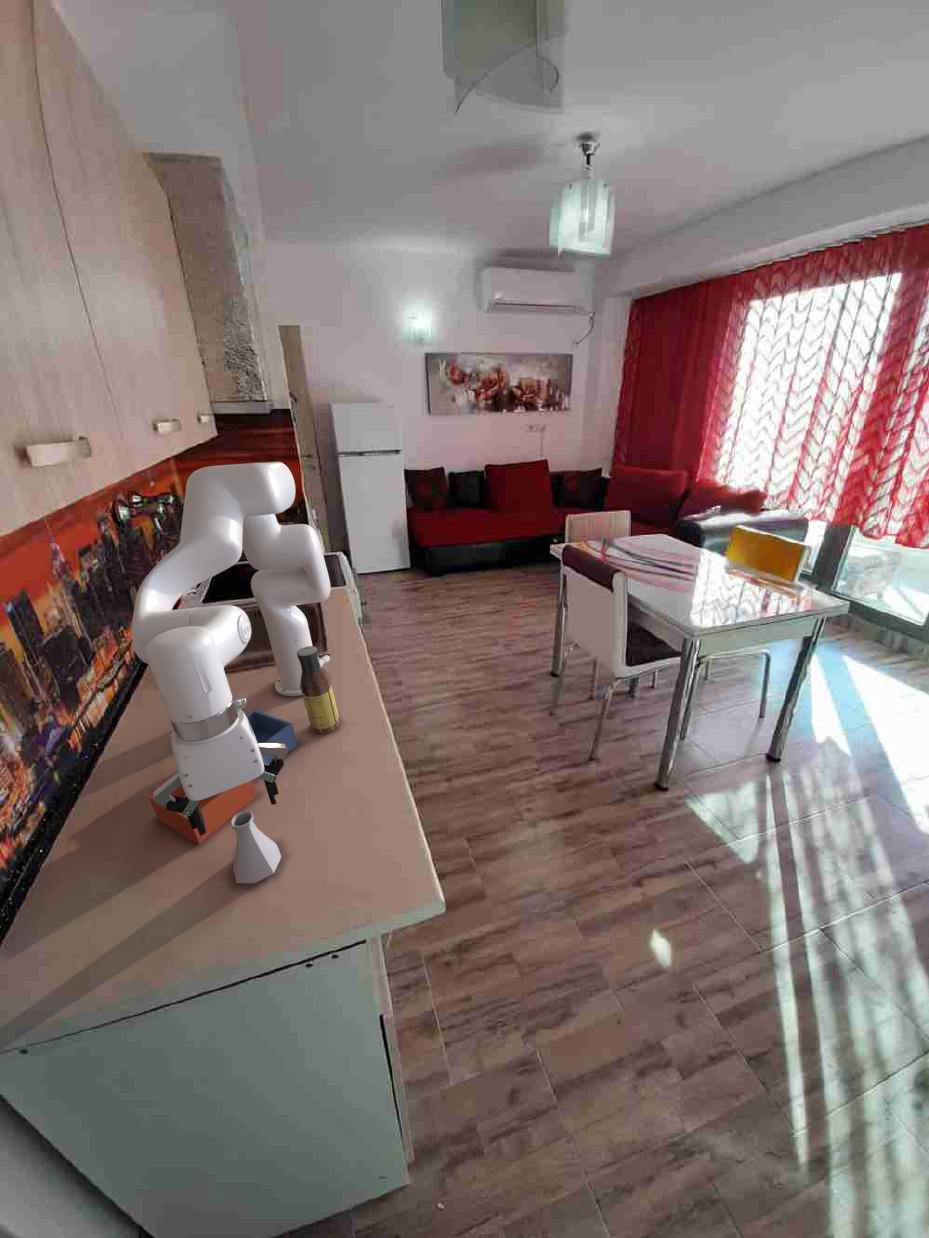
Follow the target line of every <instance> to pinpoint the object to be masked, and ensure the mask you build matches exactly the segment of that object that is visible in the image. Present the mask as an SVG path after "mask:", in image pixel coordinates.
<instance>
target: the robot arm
mask: <svg viewBox="0 0 929 1238" xmlns="http://www.w3.org/2000/svg"><path fill="white" fill-rule="evenodd" d="M295 499H296V483H295V478H294V477H293V474H292V472H291V470H290V469H289V467H288V466H287V465H286V464H284V462H281V461H270V462H269V461H267V462H248V463H247V462H246V463H234V464H223V465H222V464H221V465H210V466H204V467H201V468H199V469H196V470H194V471H193V472H192V473H191V474H190V475H189V477H188V478H187V481H186V486H185V493H184V502H183V503H184V504H183V508H182V509H183V511H182V519H181V527H180V536H179V543H178V544H177V545H176V546H175V547H174V548H172V549H171V550H170V551H169V552H168V553H167V554H166V555H164V556H163V558H161V559H160V560H159V562H158V563H157V564H156V565H154V567H153V568H152V569H151V571H150V572H149V573H148V574H147V575H146V576H145V577H144V578H143V581H142V582H141V584H140V586H139V588H138V590H137V593H136V596H135V603H134V609H133V615H132V623H131V642H132V647H133V650H134V653H135V654H136V656H137V657H138V658H139V659H140V660H141V662H142V663H145V664H147V665H148V666H149V668H150V671H151V673H152V676H153V679H154V681H155V684H156V686H157V689H158V691H159V694H160V697H161V700H162V702H163V705H164V707H165V710H166V713H167V716H168V718H169V720H170V724H171V726H172V728H173V731H172V732H171V733H170V744H171V749H172V753H173V758H174V763H175V767H176V770H177V772H176V773H175V774H173V775H172V776H171V777H170V778H168V779H167V780H166V781H165V782H164V783H163V784H161V785H160V786H159V787H158V788H157V789H156V790H154V791H153V801H154V802H156V803H158V804H160V805H161V806H164V807H166V808H167V810H169V811H173V812H178V813H183V816H185V817H188V819H189V822H190V824H191V827H192V829H195V828H198V831H199V833H200V836H201V835H204V834H205V833H206V828H205V821H204V817H203V815H202V812H201V810H200V807H199V805H198V803H199V801H200V800H202V799H205V798H208V797H211V796H213V795H216V794H219V793H221V792H224V791H226V790H229V789H231V788H234V787H236V786H239V785H241V784H244V783H246V782H249V781H251V780H253V779H254V780H256V779H260V780H262V781H263V782H264V786H265V789H266V793H267V795H268V799H269V802H270V805H273V806H274V805H276V804H277V800H276V797H275V796H277V795H279V789H278V785H277V782H276V781H277V778H278V777H277V776H278V775H279V773H280V772H281V770H282V769H283V768H284V766H285V761H286V758H287V756H288V753H289V752H288V749H287V746H286V744H283V743H257V740H256V737H255V735H254V732H253V729H252V727H251V725H250V723H249V721H248V719H247V717H246V715H247V714H245V712H244V711H243V710H242V709H243V708H245V707H248V703H247V699H246V696H243V697H237V698H236V696H233V694H232V691H231V688H230V684H229V681H228V678H227V675H226V672H225V667H226V666H227V665H228V664H230V662H232V661H233V660H234V659H236V658H237V657H238V656H240V654H242V652H243V651H244V650H245V649H246V647H247V646H248V643H249V642H250V640H251V636H252V625H251V621H250V619H249V616H248V614H247V613H246V612H245V611H244V610H243V609H242V608H240V607H239V606H236V605H232V604H216V605H209V606H199V607H197V606H196V607H188V608H187V607H186V608H180V609H179V608H178V609H173V608H174V606H175V605H176V603H177V602H178V601H179V599H181V597H183V595H185V594H186V593H187V592H188V591H190V590H191V589H192V588H194V587H195V586H197V585H199V584H201V583H204V582H205V581H207V580H210V579H211V578H213V577H215V576H216V575H219V574H220V573H223V572H225V571H226V570H228V569H229V568H231V567H233V566H234V565H235V564H237V563H238V561H239V560H240V559H241V557H242V553H243V554H244V555H245V557H246V560H247V561H248V563H249V565H250V566H251V567H252V568H253V569H254V570H258V571H256V572H255V573H254V574H253V575H252V577H251V579H250V587H251V591H252V596H253V598H254V600H255V602H256V603H257V606H258V608H259V610H260V612H261V615H262V618H263V621H264V624H265V628H266V632H267V635H268V640H269V644H270V647H271V652H272V655H273V660H274V663H275V667H276V670H277V674H278V678H277V679H276V681H275V682H274V689H275V691H276V693H277V694H279V695H281V696H285V697H298V696H302V692H301V688H300V683H301V675H302V670H301V664H300V660H299V659H298V656H297V652H298V650H299V649H301V648H304V647H307V646H313V642H312V637H311V632H310V628H309V623H308V620H307V617H306V616H305V613H304V612H302V610H301V609H300V608H299V607H297V606H300V605H309V604H317V603H321V602H324V601H326V600H328V599H329V597H330V594H331V590H332V589H331V588H332V587H331V581H330V576H329V572H328V568H327V564H326V561H325V556H324V551H323V548H322V544H321V541H320V537H319V535H318V533H317V531H316V530H315V528H314V527H312V526H311V525H309V524H307V523H306V524H305V523H296V524H295V523H293V524H285V525H284V524H279V522H278V519H277V517H276V515H278V514H281V513H283V512H285V511H286V510H288V509H289V508H291V507H292V505H293V504H294V501H295ZM318 659H319V663H320V667H321V668H323V665H325V664H327V663H329V662H330V661H331V657H330V656H329V655H328V654H325V655H323V656H322V657H319V656H318ZM287 752H288V753H287ZM261 755H275V757H274V758H273V760H272V761H271V763H270V764H267V763H265V762H263V759H262V756H261ZM255 778H256V779H255ZM254 780H253V781H254ZM181 785H182V786H183V789H184V792H185V796H184V797H183V798H182V797H177V796H171V793H172V792H174V791H175V790H176V789H177V788H178V787H179V786H181Z"/></svg>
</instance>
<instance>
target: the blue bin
mask: <svg viewBox="0 0 929 1238" xmlns="http://www.w3.org/2000/svg"><path fill="white" fill-rule="evenodd" d="M245 715H246V717H247V719H248V721H249V723H250V725H251V727H252V729H253V732H254V735H255V737H256V740H257V743H283V744H286V746H287V749H288V752H287V754H288V753H289V752H290V751H292V750H293V749H294V748H296V747H297V746H298V744H299V743H298V741H297V737H296V733H295V729H294V725H293V723H292V722H290V721H287V720H285V719H281V718H278V717H275V716H273V715H271V714H267V713H265V712H262V711H260V710H257V709H253V710H252V711H250V712H249V713H247V714H245ZM261 756H262V759H263V762H265V763H267V764H270V763H271V761H272V760H273V758H274V757H275V755H261ZM256 779H257V778H255V779H253V780H252V782H254V780H256Z"/></svg>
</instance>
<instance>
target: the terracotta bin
mask: <svg viewBox="0 0 929 1238" xmlns="http://www.w3.org/2000/svg"><path fill="white" fill-rule="evenodd" d="M153 793H154V792H153ZM153 793H151V794H150V795H148V796H147V798H148V800H149V802H150V805H151V807H152V809H153V812H154V813H155V815H156V817H157V820H158V821H160V822H161V823H163V824H164V825H166V826H168V827H169V828H171V829H174V830H175V831H176V832H178V833H180V834H181V835H183V836H185V837H186V838H188V839H190V840H191V841H193V842H194V843H196V844H198V845H201V844H202V843H203V842H204V841H205V840H206V839H207V838H209V837H210V836H211V835H212V834H214V833H215V832H216V831H218V829H219V828H221V827H222V826H223V825H224V824H226V823H227V822H228V821H229V820H231V819H232V818H233V817H234V815H235V814H238V813H239V812H241V810H242V809H243V808H244V807H245V806H247V805H249V803H250V802H251V801H253V800H254V799H255V798H256V797H257V793H256V790H255V786H254V783H253V781H252V780H251V781H249V782H246V783H244V784H241V785H239V786H236V787H234V788H231V789H229V790H226V791H224V792H221V793H219V794H216V795H213V796H211V797H208V798H205V799H202V800H200V801H199V803H198V805H199V807H200V810H201V812H202V815H203V817H204V821H205V828H206V833H205V834H204V835H201V836H200V833H199V831H198V828H195V829H192V827H191V824H190V822H189V819H188V817H185V816H183V813H178V812H173V811H169V810H167V808H166V807H164V806H161V805H160V804H158V803H156V802H154V801H153ZM171 796H177V797H182V798H183V797H184V796H185V792H184V789H183V786H182V785H181V786H179V787H178V788H177V789H176V790H175V791H174V792H172V793H171Z"/></svg>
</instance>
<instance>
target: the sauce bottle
mask: <svg viewBox="0 0 929 1238" xmlns="http://www.w3.org/2000/svg"><path fill="white" fill-rule="evenodd" d="M297 656H298V659H299V660H300V664H301V670H302V675H301V683H300V688H301V692H302V695H301V696H302V699H303V704H304V706H305V710H306V714H307V717H308V722H309V724H310V727H311V728H312V730H313V731H314V732H315V733H318V734H327V733H328V734H329V733H330V732H332V731H334V730H335V729H337V728H338V726H339V724H340V717H339V711H338V708H337V703H336V699H335V695H334V690H333V688H332V683H331V681H330V676H329V674H328V672H327V671H326V669H324V668H323V667H322V668H321V667H320V663H319V659H320V658H319V659H318V657H319V651H318V648H317V647H316V646H313V645H312V646H307V647H304V648H301V649H299V650H298V652H297Z"/></svg>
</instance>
